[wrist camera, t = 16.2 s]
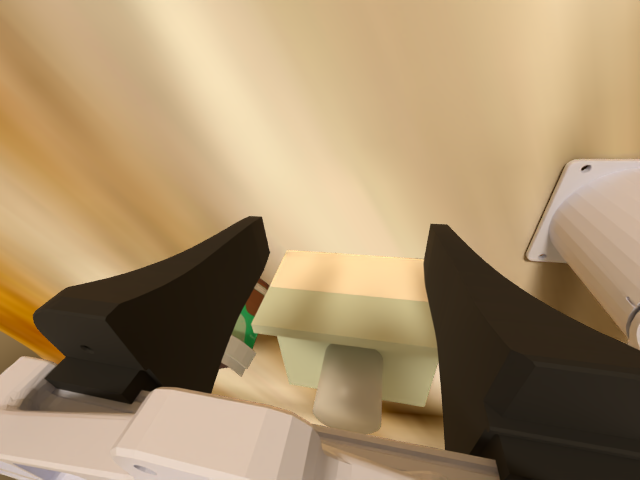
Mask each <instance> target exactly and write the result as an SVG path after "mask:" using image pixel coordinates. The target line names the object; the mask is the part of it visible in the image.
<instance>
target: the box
mask: <svg viewBox="0 0 640 480" xmlns="http://www.w3.org/2000/svg"><path fill="white" fill-rule="evenodd" d="M423 263H424V259H412V258H397V257H383V256H368V255H353V254H338V253H323V252H308V251H293V250H287V252H286V254H285V256H284V258H283V260H282V262H281V264H280V266H279V268H278V270H277V272H276V274H275V276H274V278H273V280H272V282H271V285H270V287H277V288H287V289H298V290H308V291H318V292H328V293H339V294H349V295H359V296H370V297H380V298H390V299H401V300H411V301H421V302H428V298H427V293H426V288H425V281H424V266H423Z"/></svg>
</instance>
